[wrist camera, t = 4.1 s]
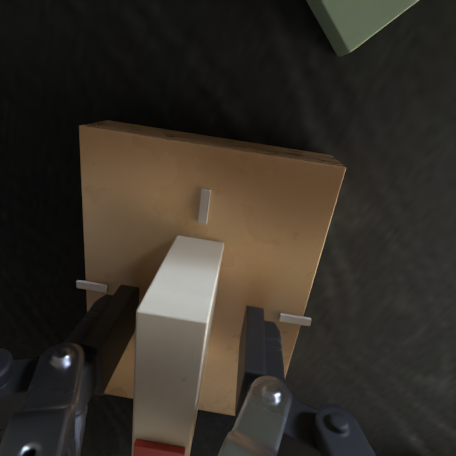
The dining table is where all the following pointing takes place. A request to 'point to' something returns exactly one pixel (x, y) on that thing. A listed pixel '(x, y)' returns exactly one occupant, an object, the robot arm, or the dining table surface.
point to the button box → (355, 19)
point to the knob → (174, 347)
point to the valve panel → (205, 230)
